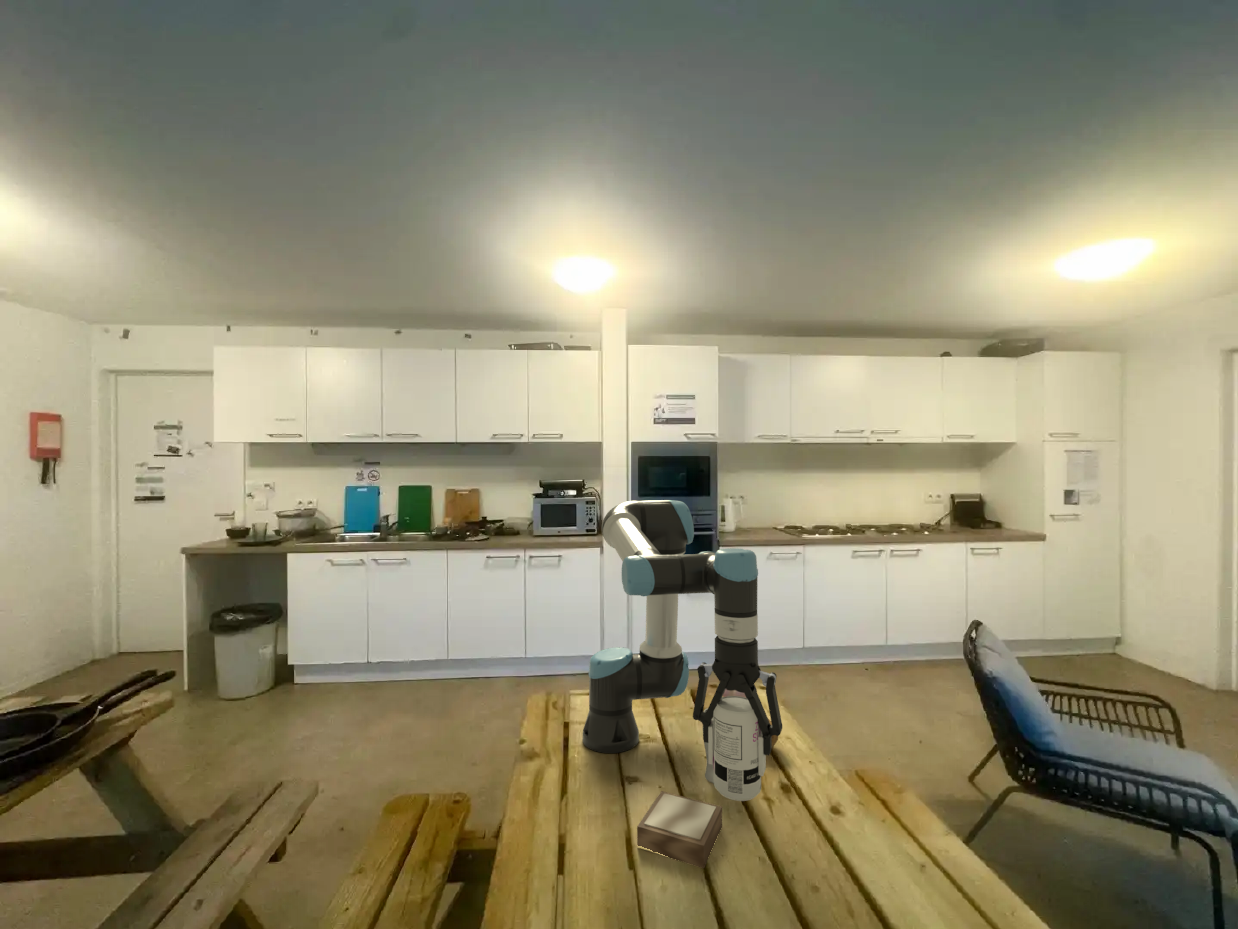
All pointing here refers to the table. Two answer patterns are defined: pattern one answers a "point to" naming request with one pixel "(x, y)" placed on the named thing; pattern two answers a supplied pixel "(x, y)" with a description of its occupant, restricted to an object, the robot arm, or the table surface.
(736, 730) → the supplement can
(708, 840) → the base
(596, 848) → the table surface
